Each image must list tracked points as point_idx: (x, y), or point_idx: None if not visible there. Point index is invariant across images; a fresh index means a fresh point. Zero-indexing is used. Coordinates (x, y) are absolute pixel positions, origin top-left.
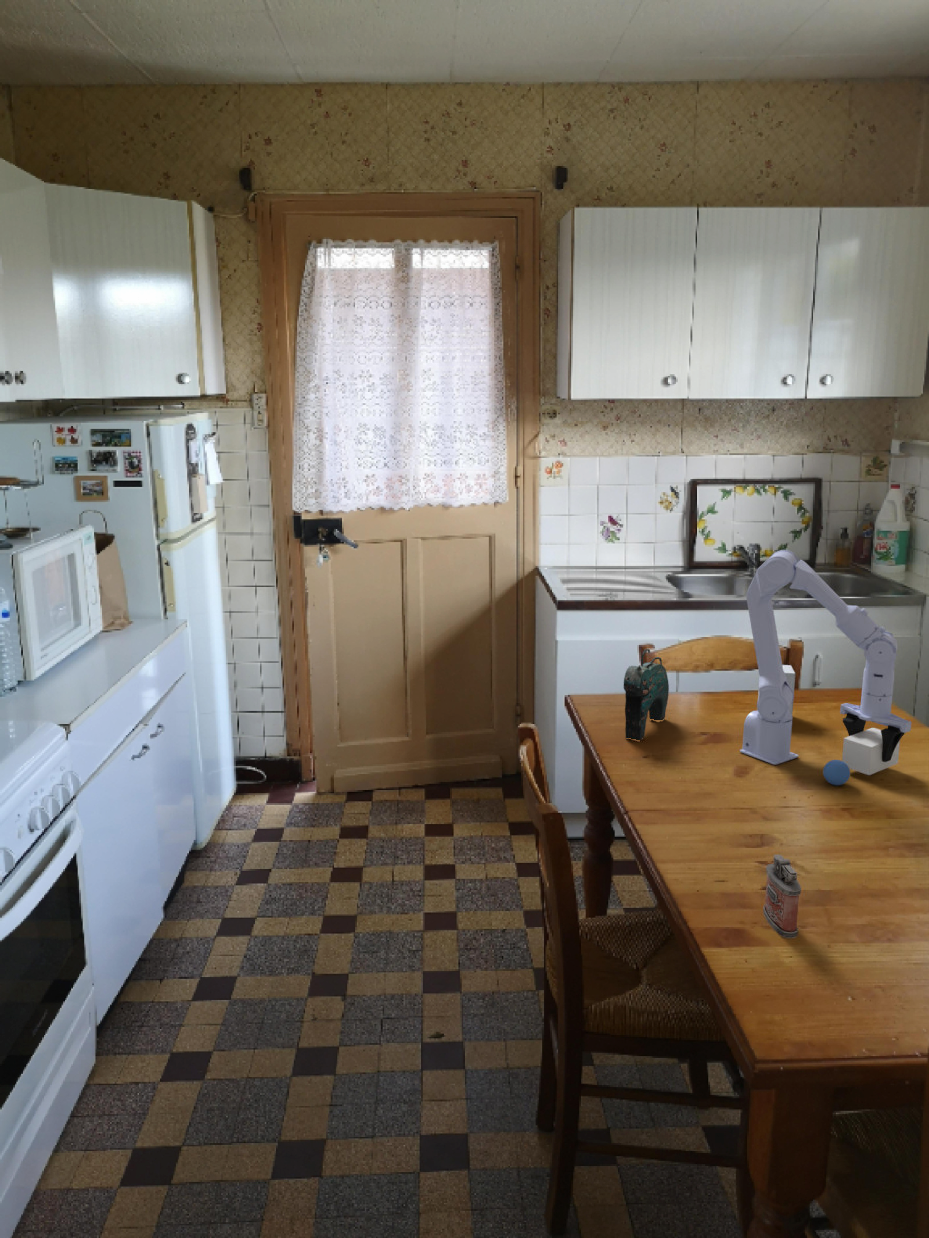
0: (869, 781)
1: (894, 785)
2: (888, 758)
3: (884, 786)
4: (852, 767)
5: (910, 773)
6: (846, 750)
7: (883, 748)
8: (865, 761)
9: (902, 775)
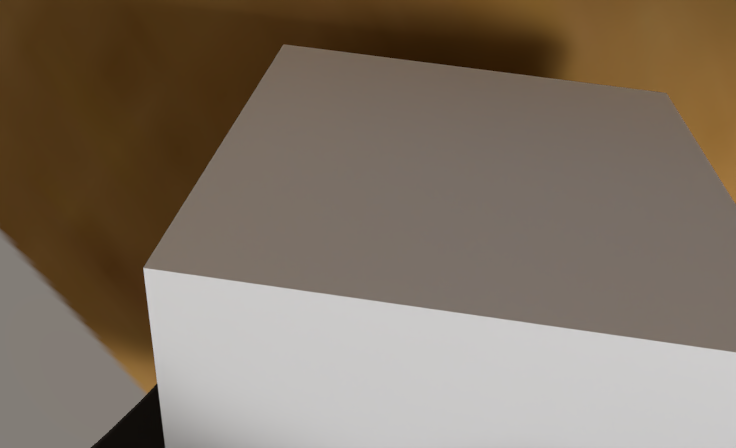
0: (301, 37)
1: (104, 116)
2: None
3: (134, 24)
4: (513, 81)
5: None
6: (671, 207)
7: None
8: (316, 120)
9: None
